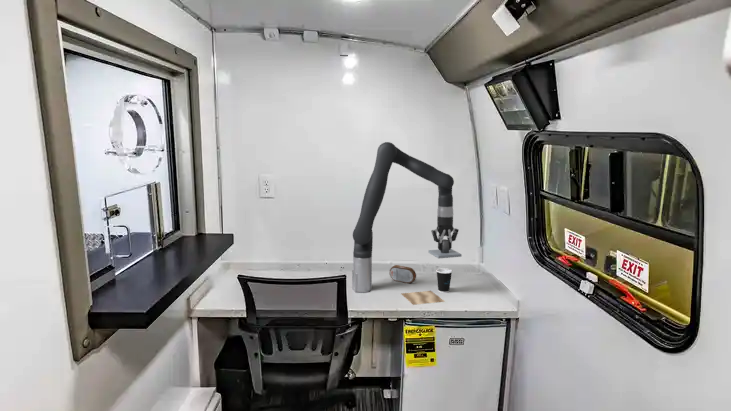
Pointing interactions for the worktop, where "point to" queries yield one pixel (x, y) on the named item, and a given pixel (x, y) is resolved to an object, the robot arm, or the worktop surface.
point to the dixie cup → (444, 279)
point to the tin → (402, 274)
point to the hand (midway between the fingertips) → (444, 249)
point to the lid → (445, 251)
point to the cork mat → (422, 297)
